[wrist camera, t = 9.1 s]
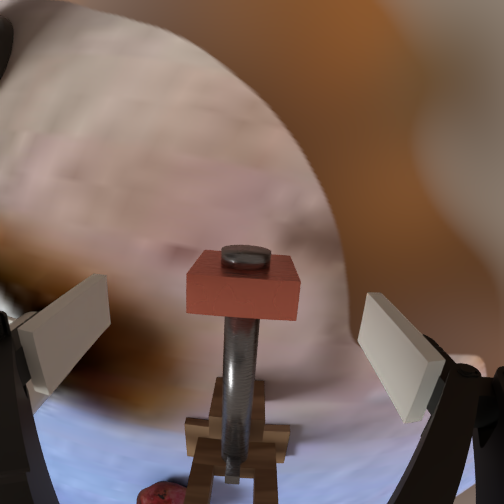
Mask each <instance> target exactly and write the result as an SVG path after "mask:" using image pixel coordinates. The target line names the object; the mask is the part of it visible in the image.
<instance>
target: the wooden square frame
mask: <svg viewBox="0 0 504 504" xmlns="http://www.w3.org/2000/svg"><path fill="white" fill-rule="evenodd" d="M185 435H186V447H187V456H191V457H194V458H193V462H192V467H191V471H190V476H189V480H188V485H187V489H186V494H185V499H184V503H183V504H210V499H211V492H212V485H213V478H214V476H225V471H226V462H225V461H224V460H223V459H222V457H221V439H213V438H209V420H202V419H194V418H186V421H185ZM289 436H290V425H268V424H265V425H264V433H263V440H262V442H251V441H249V447H248V457H247V460H246V461H245V462H244V463H242V464H241V465H240V478H254V489H253V504H278V487H277V467H276V463H284V460H285V455H286V450H287V445H288V440H289Z"/></svg>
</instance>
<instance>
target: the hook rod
mask: <svg viewBox="0 0 504 504" xmlns="http://www.w3.org/2000/svg"><path fill="white" fill-rule="evenodd" d="M300 284H301V281H300V279H299V276H298V274H297V271H296V269H295V266H294V264H293V262H292V259H291V257H290V256H287V255H272V254H271V251H270V250H269V249H266V248H263V247H258V246H251V245H230V246H225V247H223V248H222V249H221V251H213V250H204V251H203V253H202V254H201V255H200V257H199V258H198V259H197V261H196V262H195V263H194V265H193V266H192V267H191V269H190V270H189V271H188V273H187V286H186V309H187V313H192V314H203V315H214V316H225V324H224V352H223V387H222V434H221V457H222V459H223V460H224V461H225V462H226V471H225V483H227V484H239V480H240V465H241V464H242V463H244V462H245V461H246V460H247V457H248V447H249V436H250V426H251V415H252V404H253V393H254V381H255V370H256V358H257V347H258V335H259V323H260V319H271V320H289V321H296V318H297V310H298V302H299V293H300Z"/></svg>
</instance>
